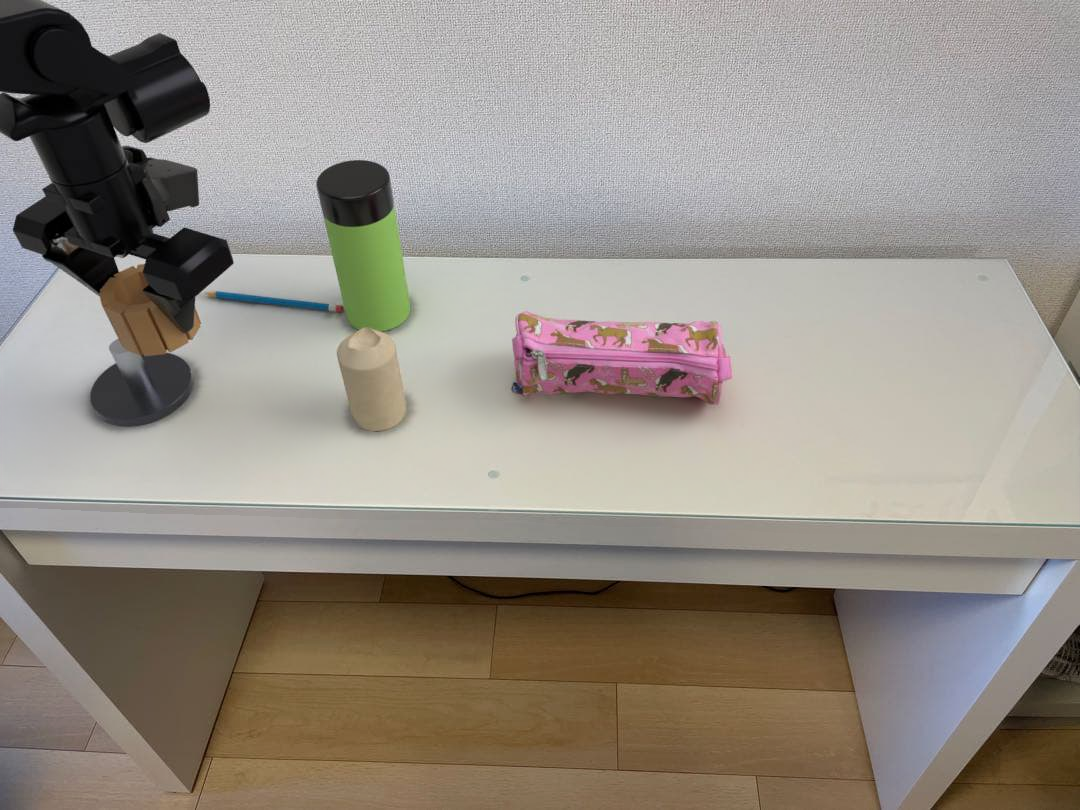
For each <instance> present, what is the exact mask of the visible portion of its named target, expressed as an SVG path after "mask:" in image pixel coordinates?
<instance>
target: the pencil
mask: <svg viewBox="0 0 1080 810" xmlns="http://www.w3.org/2000/svg"><path fill="white" fill-rule="evenodd" d="M203 294H204V295H207V296H210V297H212V298H216V299H221V300H232V301H239V302H249V303H257V304H266V305H273V306H275V305H276V306H283V307H292V308H301V309H307V310H315V311H316V310H317V311H325V312H335V313H343V311H344V305H341V304H333V303H324V302H323V303H322V302H314V301H305V300H297V299H290V298H289V299H288V298H281V297H280V298H279V297H271V296H261V295H254V294H246V293H238V292H237V293H236V292H228V291H220V290H218V291H217V290H215V291H207V292H203Z"/></svg>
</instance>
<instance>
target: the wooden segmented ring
mask: <svg viewBox="0 0 1080 810" xmlns="http://www.w3.org/2000/svg"><path fill="white" fill-rule="evenodd" d="M144 265H145V263H141V264H137V266H136V267H135V265H132V266H129V267H127V268H126V269H123V270H121V271H119V273H117V274H115V275H114V277H115V278H112V277H110V278H109V280H108V281H107V282H106V283H105V285H104V286H103V287H102V288H101V290H100V292H101V293H99V296H100V297H99V296H98V297H99V299H100V303H101V306H102V307H101V308H102V309H103V311H104V313H105V315H106V317H107V319H108V321H109V323H110V325H111V327H112V329H113V331H114V333H115V335H116V337H117V339H119V341H120V343H121V345H122V347H123V348H124V349H125V350H127V351H129V352H132V353H134V354H137V355H139V356H141V355H142V354H144V356H152V355H161V354H166V353H167V351H168V353H172V352H174V351H176V350H177V349H179V348H181V347H184V346H186V345H187V344H189V342H190V341H192V340H193V339H194V338H195V336H196V335H197V333H198V331H199V330H200V328H201V325H202V321H201V319H200V316H199V313H198V310H197V307H195V311H194V326H193V328H192V329H191V330H190V331H189V332H188V333H186V334H185V333H182V332H181V331H180V330H179V329H178V328H177V327H176V326H175V325H174V324H173V323H172V322H171V321H170V320H169V319H168V318H167V317H166V316H165V315H164V314H163V313H162V311H161V310H160V309H159V308H158V307H157V306H156V305H155V304H154V303H153V302H152V301H151V300H150V299H149V298H148V297H147V296H146V294H145V293H144V292H143V291H142V290H143V289H144V288H145V287H147V286H148V285H149V284H148V283H147V281H146V279H145V277H144V274H143V269H144Z"/></svg>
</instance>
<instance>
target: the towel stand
mask: <svg viewBox="0 0 1080 810" xmlns="http://www.w3.org/2000/svg"><path fill="white" fill-rule="evenodd" d="M108 349H109V352H110V354H111V357H112V358H113V360H114V362H115V363H114V364H112V365H111V366H109V367H108V368H107V369H105V370H104V371H103V372H102V373H101V374H100V375H99V376H98V377H97V379H96V380H95V381H94V383H93V385H92V387H91V390H90V393H89V397H90V398H89V399H90V400H89V401H90V404H91V406H92V408H93V410H94V411H95V413H96V415H97V416H98V417H99V418H100V419H101V420H103V421H105V422H106V423H109V424H111V425H113V426H118V427H137V426H143V425H147V424H151V423H154V422H157V421H159V420H162V419H164V418H166V417H168V416H169V415H171V414H173V413H174V412H176V411H177V410H178V409H179V408H180V407H181V406H183V404H184V403H186V401H187V400H188V398H189V397H190V396H191V394H192V391H193V389H194V382H195V379H194V374H193V372H192V370H191V367H190V365H189V364H188V363H187V361H185V359H184V358H182V357H180V356H179V355H176V354H173V353H172V352H166V354H161V355H152V356H144V354H142V355H141V356H139V355H137V354H134V353H132V352H129V351H127V350H125V349H124V348H123V347H122V345H121V343H120V341H119V339H118V338H117V339H115V340H113V341H111V342H110V344H109V346H108Z"/></svg>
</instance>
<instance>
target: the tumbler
mask: <svg viewBox="0 0 1080 810" xmlns="http://www.w3.org/2000/svg"><path fill="white" fill-rule="evenodd" d="M315 185H316V190H317V196H318V199H319V203H320V208H321V213H322V216H323V220H324V226H325V230H326V234H327V239H328V242H329V247H330V251H331V256H332V260H333V264H334V268H335V274H336V277H337V281H338V286H339V291H340V296H341V299H342V303H343V309H344V312H345V316H346V319H347V321H348V323H349V325H351V326H352V327H353V328H354V329H357V330H358V331H359V330H360V329H362V328H365V327H369V328H371V329H373V330H377V331H380V332H386V331H387V332H388V331H390V330H393V329H396V328H397V327H398V326H400V325H402V324H403V323H404V322H405V321H406V320H407V319H408V317H409V315H410V313H411V302H410V294H409V288H408V282H407V277H406V276H407V275H406V269H405V264H404V263H405V262H404V258H403V256H404V255H403V250H402V245H401V239H400V231H399V227H398V225H399V224H398V219H397V213H396V206H395V200H394V195H393V187H392V182H391V176H390V171H388V169H387V168H386V167H385V166H384V165H382V164H380V163H379V162H378V163H377V162H375V161H373V160H364V159H353V160H345V161H341V162H337V163H335V164H333V165H331V166H329V167H327V168H325V169H324V170H323V171H322V172H321V173H320V174H319V175H318V177H317V179H316V182H315Z"/></svg>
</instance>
